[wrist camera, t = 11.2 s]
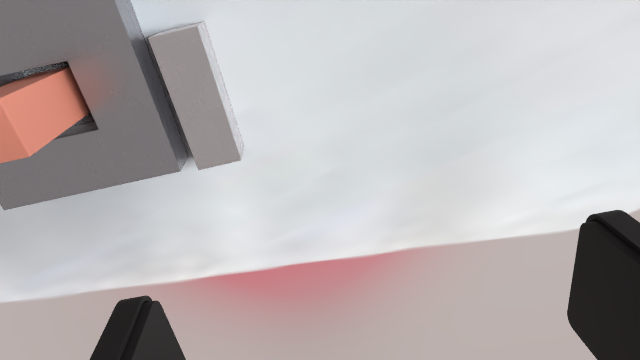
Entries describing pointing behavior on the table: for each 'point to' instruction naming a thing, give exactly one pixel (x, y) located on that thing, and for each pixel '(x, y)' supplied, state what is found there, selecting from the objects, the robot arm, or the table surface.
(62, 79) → the pin
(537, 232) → the table surface
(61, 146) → the square hole plate
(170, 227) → the table surface
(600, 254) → the robot arm
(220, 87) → the tilted grey slab block
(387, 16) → the table surface
